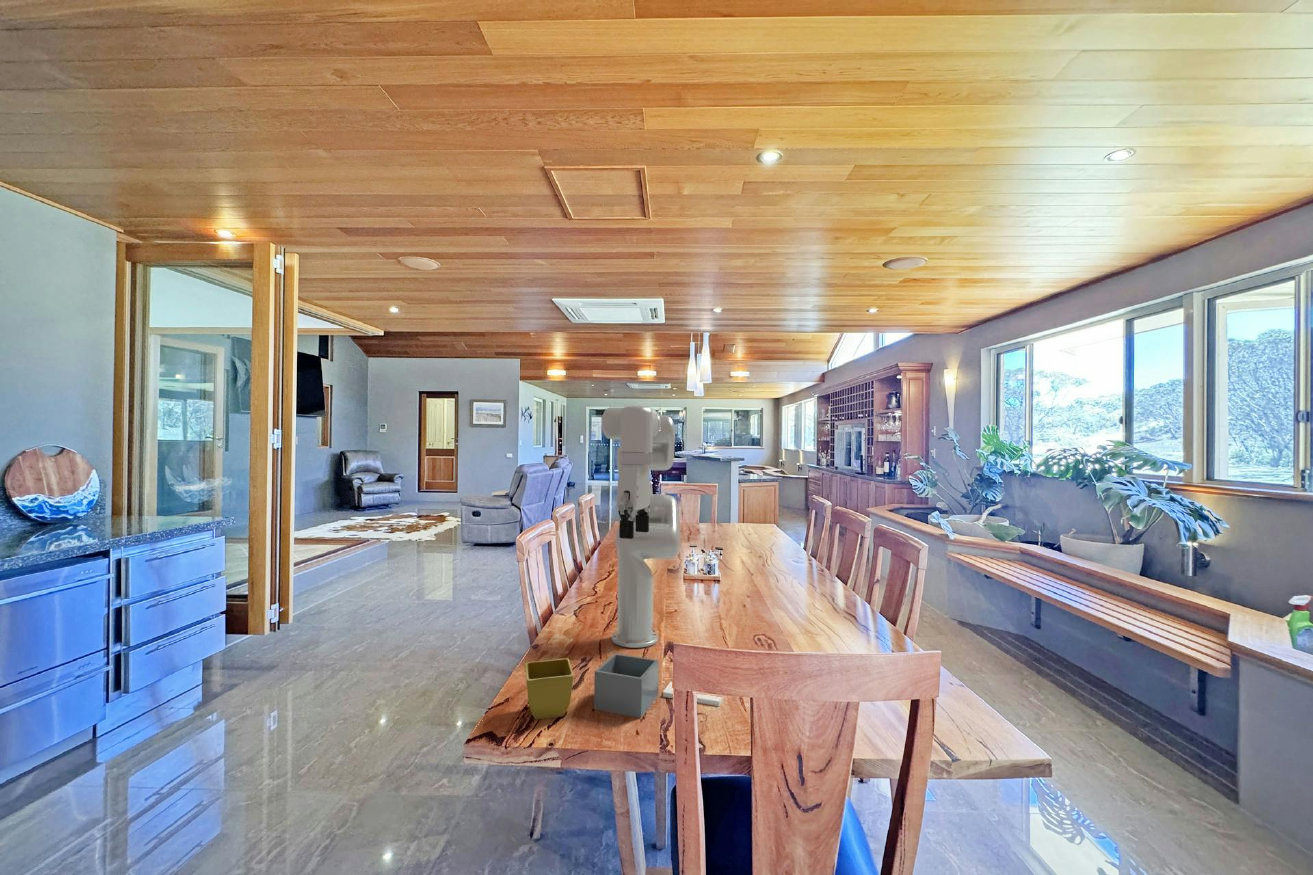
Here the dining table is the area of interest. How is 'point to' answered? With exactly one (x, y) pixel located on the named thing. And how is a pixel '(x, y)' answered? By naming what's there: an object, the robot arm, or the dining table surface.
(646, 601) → the robot arm
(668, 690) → the lid
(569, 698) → the flower pot
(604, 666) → the open box
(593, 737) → the dining table surface
